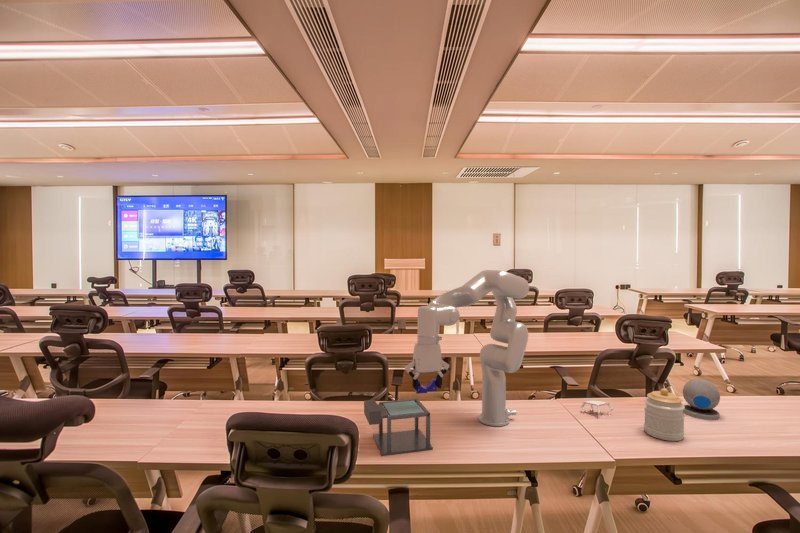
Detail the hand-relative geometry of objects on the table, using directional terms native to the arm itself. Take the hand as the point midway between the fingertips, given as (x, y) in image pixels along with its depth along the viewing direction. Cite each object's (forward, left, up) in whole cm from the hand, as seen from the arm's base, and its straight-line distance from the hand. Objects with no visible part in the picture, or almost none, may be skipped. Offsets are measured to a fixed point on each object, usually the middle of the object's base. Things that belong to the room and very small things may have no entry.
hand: (427, 388), depth 147 cm
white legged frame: (-81, -8, -21) cm, 84 cm away
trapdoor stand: (+9, -3, -20) cm, 22 cm away
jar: (-90, +15, -21) cm, 94 cm away
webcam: (-123, +3, -21) cm, 125 cm away
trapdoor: (+12, -3, -10) cm, 16 cm away
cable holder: (0, -2, -2) cm, 3 cm away
